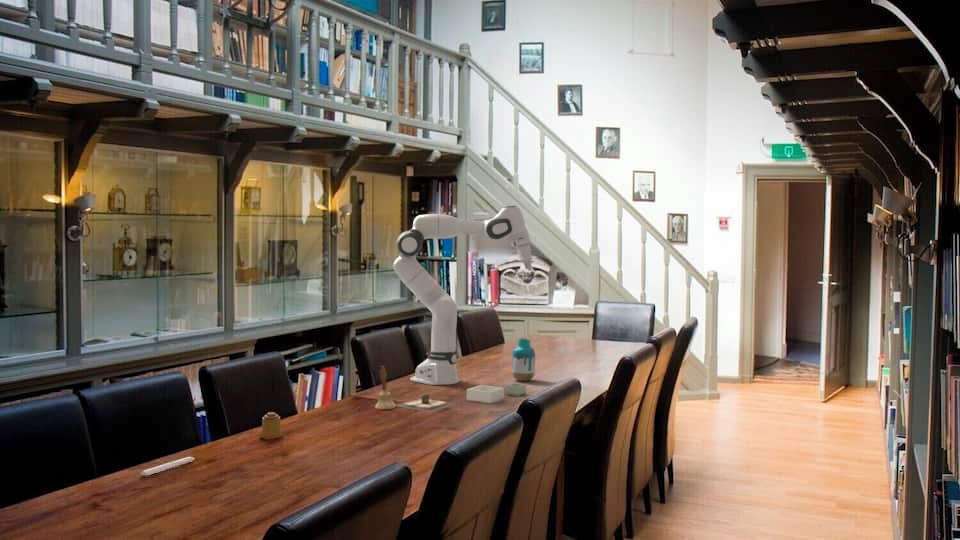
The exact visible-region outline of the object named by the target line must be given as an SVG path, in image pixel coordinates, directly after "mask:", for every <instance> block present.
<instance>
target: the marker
mask: <svg viewBox="0 0 960 540" xmlns="http://www.w3.org/2000/svg"><path fill="white" fill-rule="evenodd" d="M193 460H194V461H195V458H194V457H193V456H187V457H183V458H180V459H178V460H174V461H172V460H171V461H169V462H167V463H162V464H161V465H157V466H154V467H152V468H147V469H144V470H142V471H141V472H140V475H141V474H142V475H151V474H154V473H158V472H160V471H164V470H166V469H169V468H172V467H175V466H178V465H181V464H185V463H188V462H192V461H193ZM194 461H193V462H194ZM193 462H192V463H193ZM158 474H159V473H158Z"/></svg>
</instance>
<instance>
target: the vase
mask: <svg viewBox="0 0 960 540" xmlns="http://www.w3.org/2000/svg"><path fill="white" fill-rule="evenodd" d="M511 354H512V355H511V356H512V357H511V371H512V372H511V373H512V376H513V378H514V379H515V380H517V381H520V382H528V381H531V380H532V379H533V378H534V377H535V372H536V371H535V370H536V352H535V349H534V348H533V347H531V339H529V338H518V339H517V345H516V347H514V348H513V350H512V353H511Z"/></svg>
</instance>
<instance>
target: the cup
mask: <svg viewBox="0 0 960 540" xmlns="http://www.w3.org/2000/svg"><path fill="white" fill-rule="evenodd" d="M526 385H527V384H524V383H516V382H513V383H509V384H507V385H505V386H506V387H505V390H506V391H505V395H506V396H511V397H522V396H524V395H526V394H527V393H526V392H527V391H526V389H527V388H526Z"/></svg>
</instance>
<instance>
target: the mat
mask: <svg viewBox="0 0 960 540" xmlns="http://www.w3.org/2000/svg"><path fill="white" fill-rule="evenodd" d="M418 399H419V398H416V399H412V400H409V401H406V402H402V403H398V404H396V407H399V408H400V407H401V408H406V409H411V410H418V411H422V412H423V411H424V412H429V413H434V412H436V411H440V410H444V409H446V408H449V407H452V406H455V405H456V403H451V402H450V403H449V402H447V404H446V405H443V406H439V407H436V408H433V409H430V410H426V409H420V408H414V407H408V406H404V403H408V402H411V401H415V400H418Z"/></svg>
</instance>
